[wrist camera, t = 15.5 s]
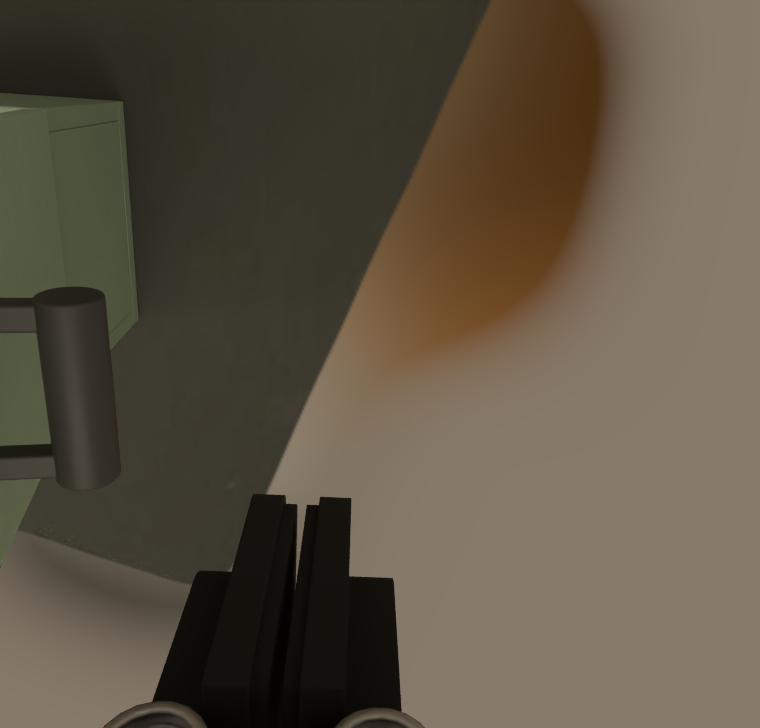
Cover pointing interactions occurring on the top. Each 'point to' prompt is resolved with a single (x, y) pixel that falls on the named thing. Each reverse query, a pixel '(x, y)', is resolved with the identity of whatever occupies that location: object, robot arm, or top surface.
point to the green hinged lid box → (91, 198)
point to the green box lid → (46, 340)
